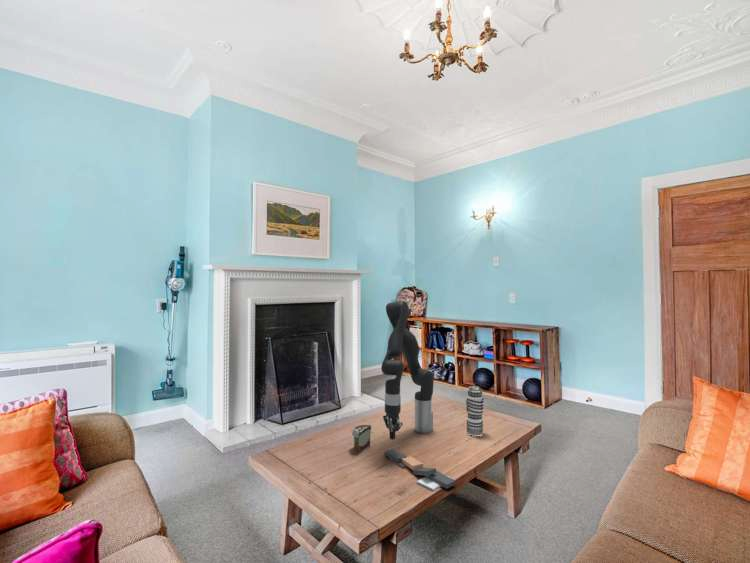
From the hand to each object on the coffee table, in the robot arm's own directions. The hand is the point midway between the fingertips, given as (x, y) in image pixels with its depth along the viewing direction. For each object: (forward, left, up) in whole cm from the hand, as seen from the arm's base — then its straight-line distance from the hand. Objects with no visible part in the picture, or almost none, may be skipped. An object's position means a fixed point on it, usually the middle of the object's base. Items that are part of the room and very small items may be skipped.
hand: (392, 438), depth 175 cm
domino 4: (+1, +20, -6) cm, 21 cm away
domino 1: (+2, 0, -6) cm, 6 cm away
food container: (+10, -14, -7) cm, 18 cm away
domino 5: (0, +27, -5) cm, 27 cm away
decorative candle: (-51, +5, -7) cm, 52 cm away
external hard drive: (0, +29, -8) cm, 30 cm away
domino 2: (+2, +4, -7) cm, 8 cm away
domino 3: (0, +10, -6) cm, 12 cm away
